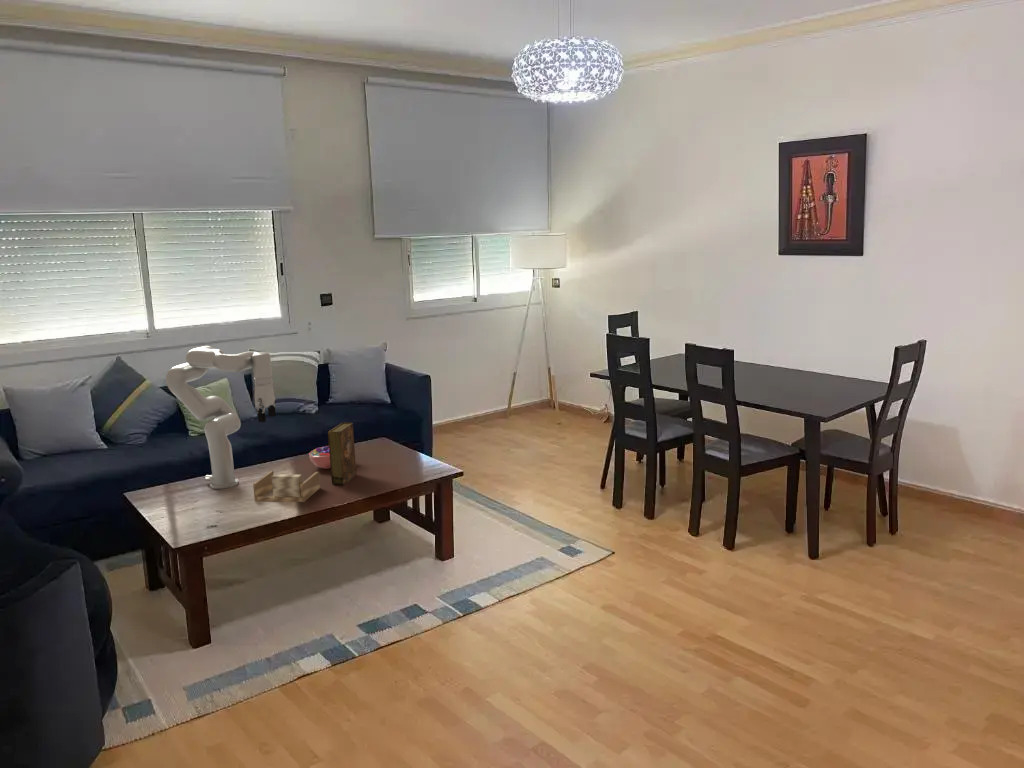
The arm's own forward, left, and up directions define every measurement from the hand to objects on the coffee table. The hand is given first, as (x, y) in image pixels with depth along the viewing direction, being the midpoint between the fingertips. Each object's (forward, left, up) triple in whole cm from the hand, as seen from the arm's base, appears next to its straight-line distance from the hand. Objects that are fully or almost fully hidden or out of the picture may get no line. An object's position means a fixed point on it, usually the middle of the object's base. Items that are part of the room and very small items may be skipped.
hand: (267, 419), depth 339 cm
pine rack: (+10, -7, -32) cm, 35 cm away
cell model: (+14, +32, -33) cm, 48 cm away
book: (+28, +14, -32) cm, 45 cm away
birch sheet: (+13, -13, -32) cm, 37 cm away
